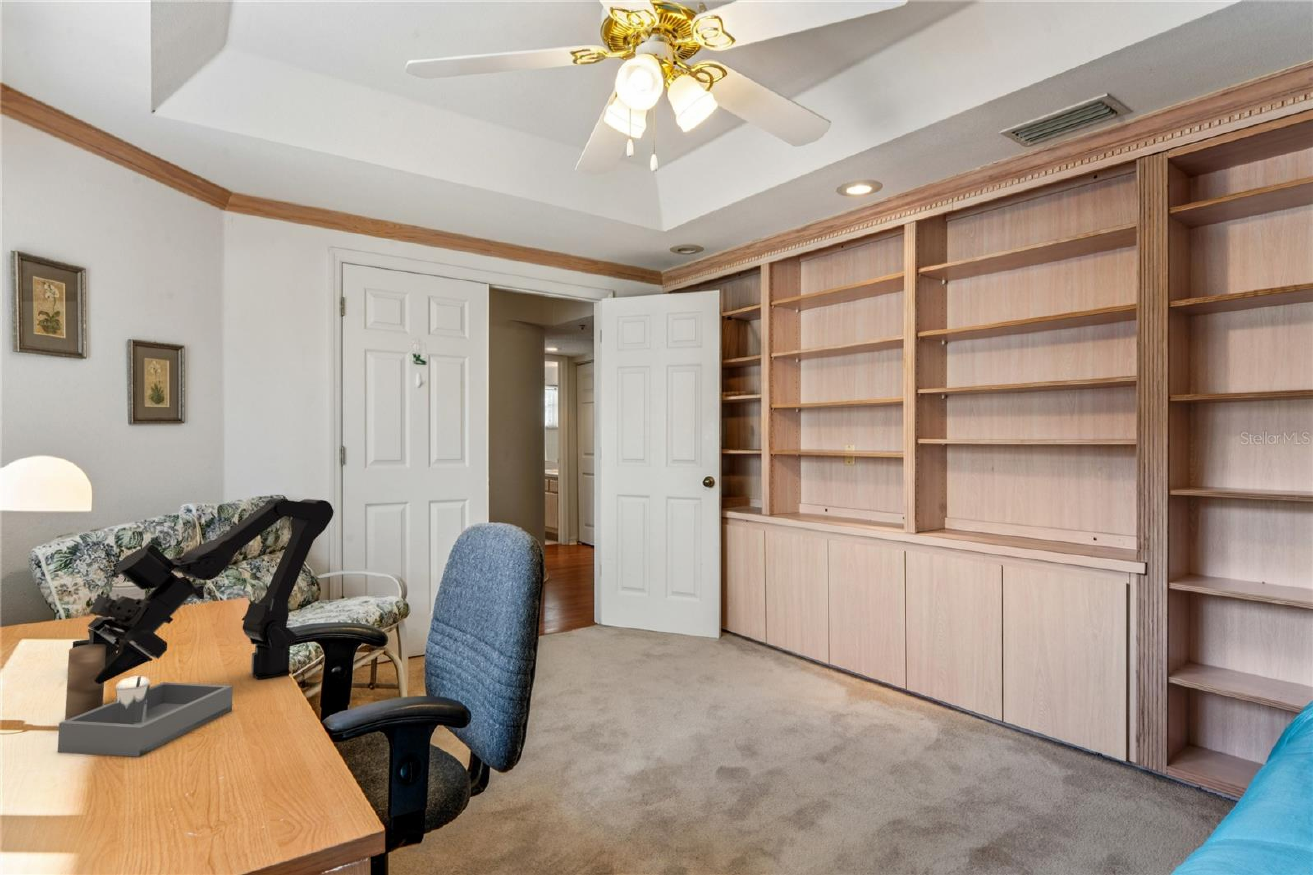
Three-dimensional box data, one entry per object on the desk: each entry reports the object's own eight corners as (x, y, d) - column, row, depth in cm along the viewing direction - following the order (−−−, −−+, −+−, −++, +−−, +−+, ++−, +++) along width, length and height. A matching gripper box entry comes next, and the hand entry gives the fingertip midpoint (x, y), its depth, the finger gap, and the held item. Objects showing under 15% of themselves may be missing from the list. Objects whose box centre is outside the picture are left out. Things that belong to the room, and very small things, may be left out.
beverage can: (104, 645, 165) (107, 584, 166) (135, 639, 171) (138, 580, 172) (115, 649, 162) (118, 587, 163) (147, 643, 168) (150, 583, 168)
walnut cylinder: (102, 715, 121) (106, 642, 121) (102, 723, 117) (106, 649, 117) (65, 721, 118) (69, 647, 118) (64, 730, 114) (68, 653, 114)
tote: (162, 706, 125) (163, 682, 126) (231, 710, 124) (232, 685, 124) (57, 751, 106) (59, 722, 106) (139, 756, 104) (140, 727, 104)
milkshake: (119, 742, 107) (122, 679, 107) (110, 733, 110) (113, 672, 111) (153, 733, 111) (156, 672, 111) (143, 725, 114) (146, 666, 114)
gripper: (104, 573, 128) (24, 644, 117) (151, 583, 118) (68, 661, 108) (149, 608, 134) (77, 678, 124) (197, 620, 125) (123, 697, 114)
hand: (85, 678), depth 117 cm, fingers open, 9 cm apart
